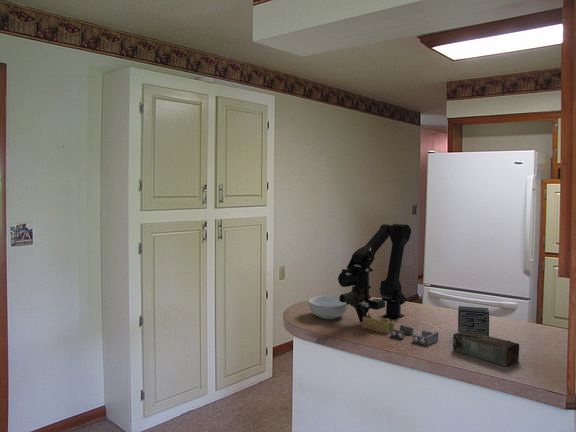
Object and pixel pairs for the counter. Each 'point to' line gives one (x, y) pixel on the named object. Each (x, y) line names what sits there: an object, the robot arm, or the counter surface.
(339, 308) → the cereal bowl
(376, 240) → the robot arm
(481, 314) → the small box
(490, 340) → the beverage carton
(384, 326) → the brass block with pegs
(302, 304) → the counter surface
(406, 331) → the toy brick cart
